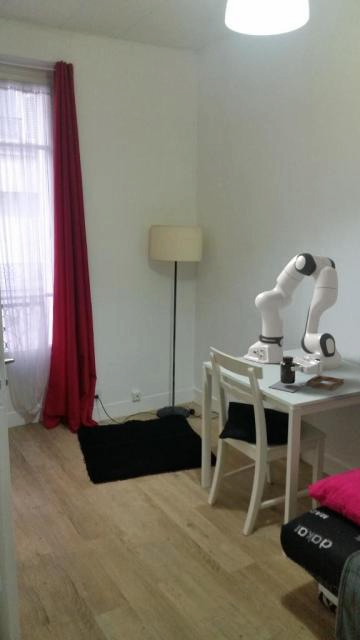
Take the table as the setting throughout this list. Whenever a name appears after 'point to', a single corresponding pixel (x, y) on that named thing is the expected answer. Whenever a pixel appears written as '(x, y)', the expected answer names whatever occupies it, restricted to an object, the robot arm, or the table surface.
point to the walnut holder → (314, 383)
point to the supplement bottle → (287, 370)
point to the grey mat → (286, 387)
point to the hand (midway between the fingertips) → (286, 366)
